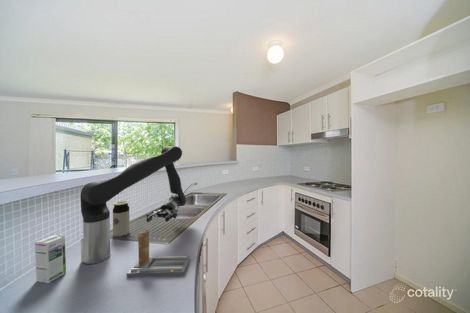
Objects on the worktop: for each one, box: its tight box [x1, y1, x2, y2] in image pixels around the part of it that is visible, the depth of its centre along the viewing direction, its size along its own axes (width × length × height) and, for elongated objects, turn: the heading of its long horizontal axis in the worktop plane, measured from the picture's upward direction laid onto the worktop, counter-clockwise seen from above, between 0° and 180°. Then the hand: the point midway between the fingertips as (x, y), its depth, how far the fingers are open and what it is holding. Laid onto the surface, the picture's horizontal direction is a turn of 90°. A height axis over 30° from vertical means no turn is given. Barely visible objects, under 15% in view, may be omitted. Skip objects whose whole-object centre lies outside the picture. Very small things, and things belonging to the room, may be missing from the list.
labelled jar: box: [112, 200, 131, 237], centre depth 102 cm, size 8×8×18 cm
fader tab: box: [134, 230, 155, 268], centre depth 71 cm, size 5×6×13 cm
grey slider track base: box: [126, 255, 191, 278], centre depth 71 cm, size 21×10×2 cm, turn 92°
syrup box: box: [34, 234, 67, 284], centre depth 66 cm, size 6×6×14 cm
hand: (157, 219), depth 83 cm, fingers open, 8 cm apart
